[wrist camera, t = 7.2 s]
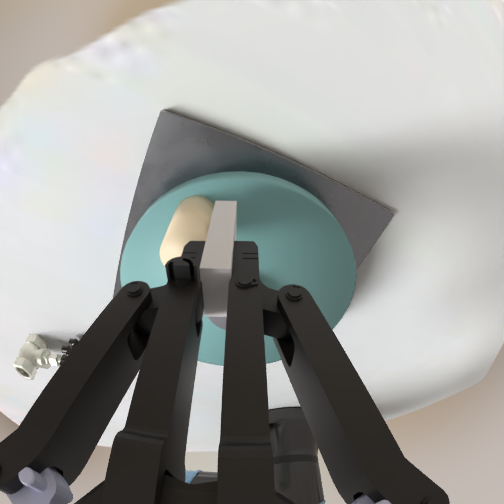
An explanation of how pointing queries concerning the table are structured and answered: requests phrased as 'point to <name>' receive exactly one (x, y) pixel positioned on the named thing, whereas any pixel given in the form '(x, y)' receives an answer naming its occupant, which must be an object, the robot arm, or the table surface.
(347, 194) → the wheel stand
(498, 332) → the table surface
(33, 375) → the valve
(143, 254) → the handwheel
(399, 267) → the table surface
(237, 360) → the robot arm
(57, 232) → the table surface
